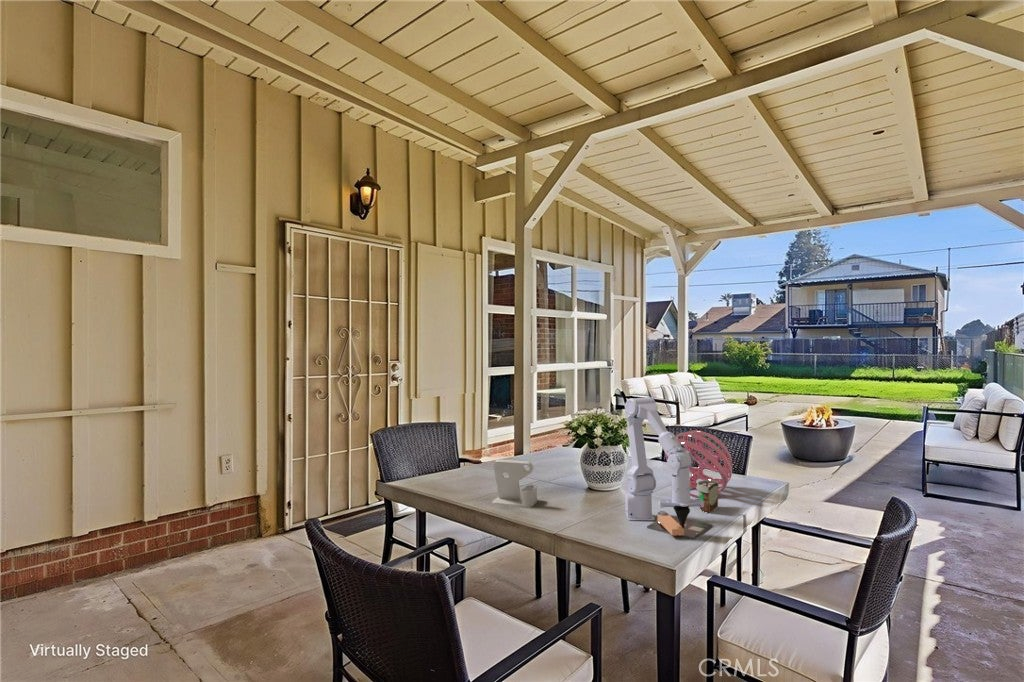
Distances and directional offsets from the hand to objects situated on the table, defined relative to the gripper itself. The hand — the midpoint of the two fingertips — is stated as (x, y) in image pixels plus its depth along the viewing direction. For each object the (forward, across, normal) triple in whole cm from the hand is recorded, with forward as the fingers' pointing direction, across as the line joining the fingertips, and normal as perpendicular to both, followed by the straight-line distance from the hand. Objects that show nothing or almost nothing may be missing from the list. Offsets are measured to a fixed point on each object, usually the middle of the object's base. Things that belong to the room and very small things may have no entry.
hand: (681, 528), depth 170 cm
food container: (+2, +18, +26) cm, 32 cm away
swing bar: (+1, -3, +5) cm, 6 cm away
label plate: (+2, +1, +7) cm, 8 cm away
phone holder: (+2, -56, +38) cm, 68 cm away
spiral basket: (+2, +23, +46) cm, 52 cm away
